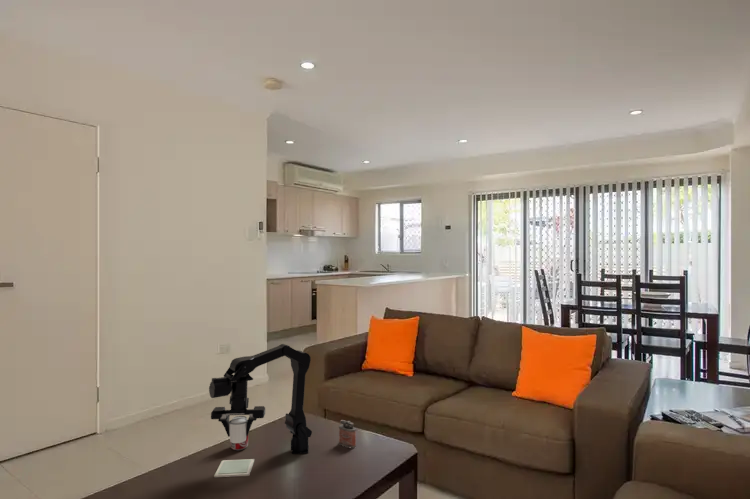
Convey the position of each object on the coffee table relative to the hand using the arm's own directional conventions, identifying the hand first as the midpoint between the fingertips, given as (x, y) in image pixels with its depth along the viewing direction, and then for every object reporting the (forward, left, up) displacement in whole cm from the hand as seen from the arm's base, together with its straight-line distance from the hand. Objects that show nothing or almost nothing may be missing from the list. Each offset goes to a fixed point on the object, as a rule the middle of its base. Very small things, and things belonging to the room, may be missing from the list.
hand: (238, 436), depth 168 cm
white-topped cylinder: (0, 0, -2) cm, 2 cm away
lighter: (-41, -17, -12) cm, 46 cm away
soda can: (+3, -19, -12) cm, 22 cm away
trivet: (+1, 0, -12) cm, 12 cm away
